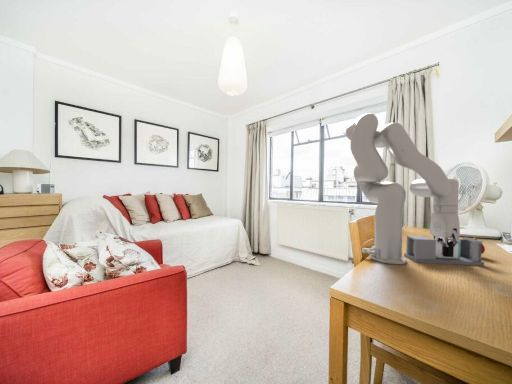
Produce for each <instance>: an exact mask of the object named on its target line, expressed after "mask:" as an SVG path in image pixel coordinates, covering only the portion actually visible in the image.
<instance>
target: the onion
mask: <svg viewBox="0 0 512 384" xmlns="http://www.w3.org/2000/svg"><path fill="white" fill-rule="evenodd" d="M472 239H475V240H478V239H477V238H476V237H473V238H472ZM485 250H486V248H485V245H484V244H483V243H482V244H481V255H482V254H484V253H485Z"/></svg>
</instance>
